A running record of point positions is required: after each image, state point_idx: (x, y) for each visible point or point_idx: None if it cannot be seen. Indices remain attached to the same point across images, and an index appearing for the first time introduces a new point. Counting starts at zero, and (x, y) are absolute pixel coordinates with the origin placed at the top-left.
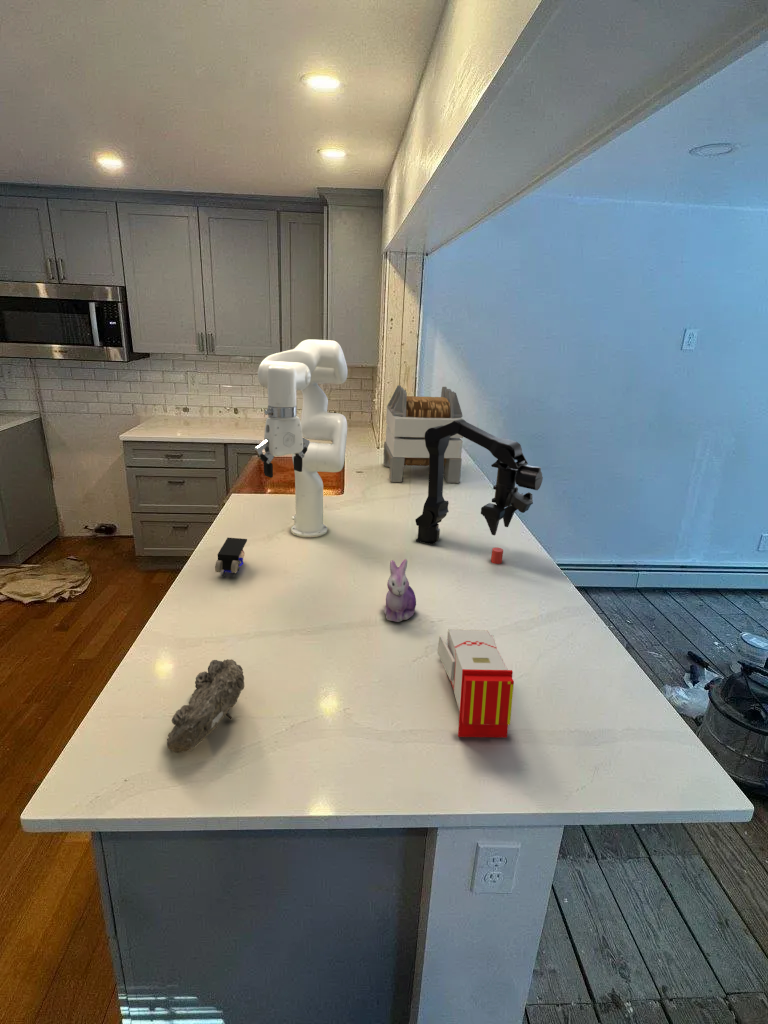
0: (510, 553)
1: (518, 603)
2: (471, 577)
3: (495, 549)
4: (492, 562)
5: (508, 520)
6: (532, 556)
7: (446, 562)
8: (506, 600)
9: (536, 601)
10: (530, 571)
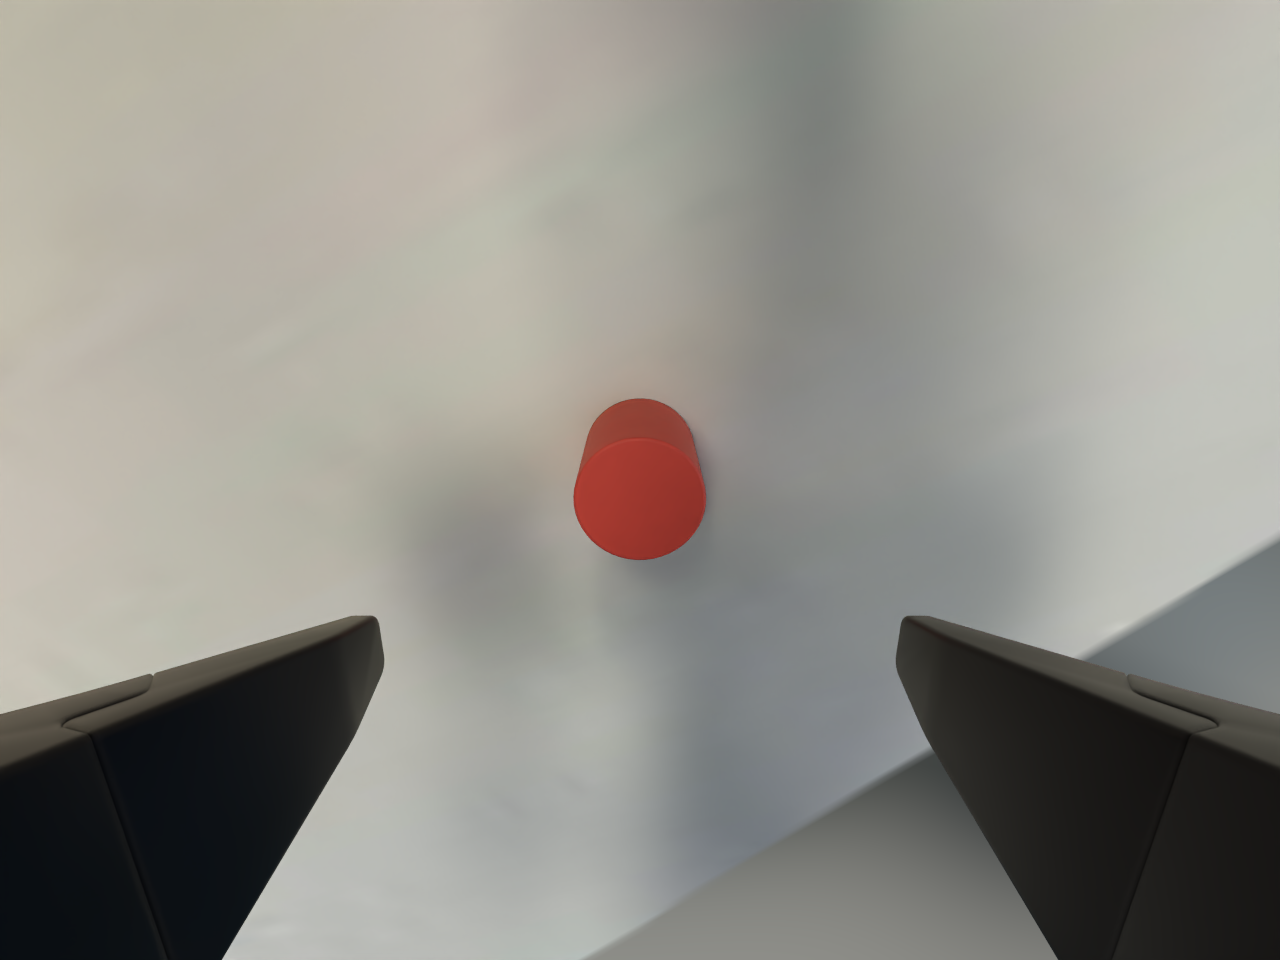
0: (931, 468)
1: None
2: (156, 427)
3: (619, 481)
4: (588, 434)
5: (961, 762)
6: None
7: (213, 12)
8: None
9: None
10: (658, 734)
